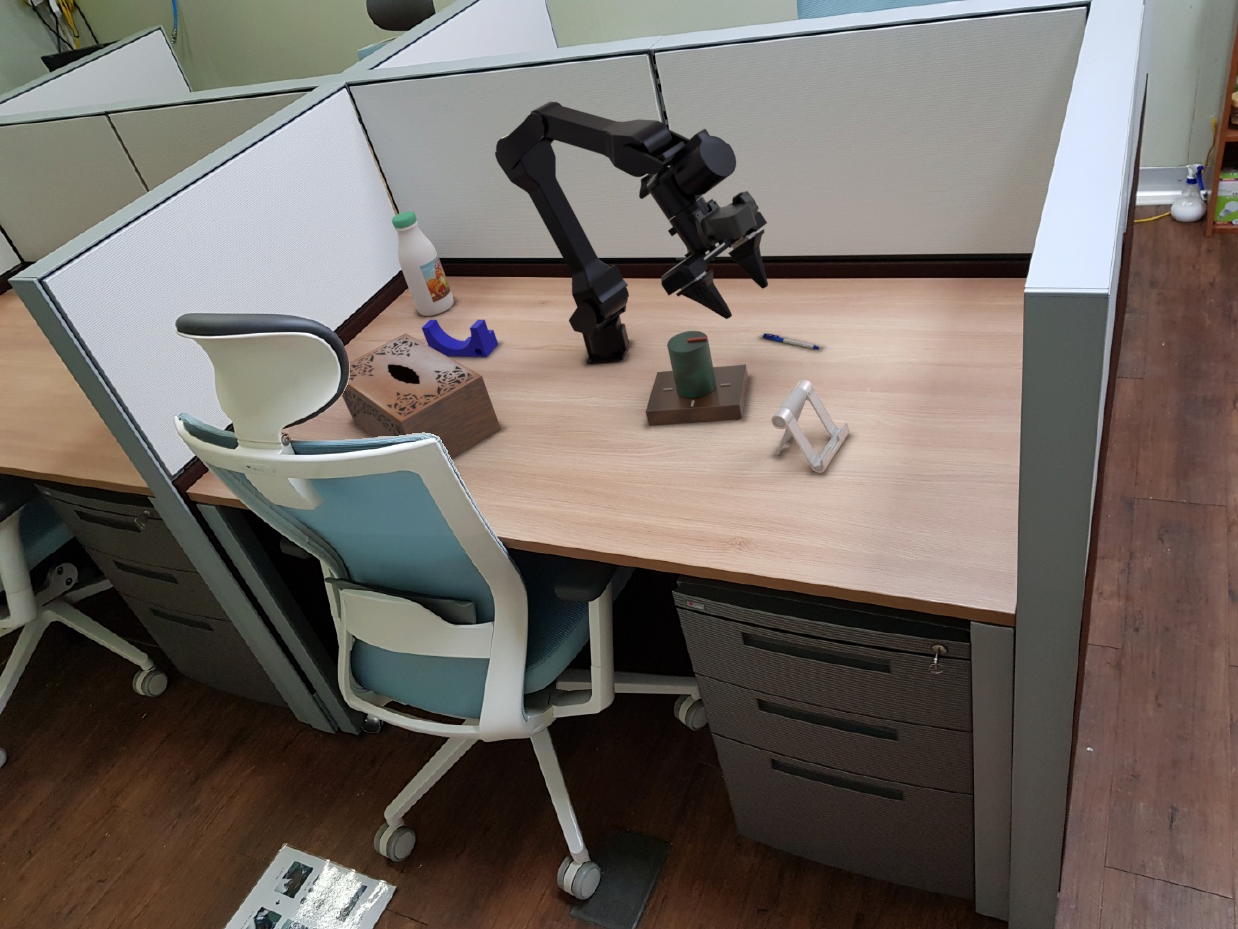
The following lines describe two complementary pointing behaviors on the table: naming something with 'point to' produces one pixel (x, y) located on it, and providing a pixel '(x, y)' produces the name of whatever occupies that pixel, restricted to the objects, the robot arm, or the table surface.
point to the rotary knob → (691, 364)
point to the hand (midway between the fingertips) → (747, 302)
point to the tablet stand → (788, 420)
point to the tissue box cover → (419, 395)
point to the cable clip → (471, 347)
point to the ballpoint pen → (789, 341)
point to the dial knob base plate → (711, 407)
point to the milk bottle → (421, 267)
